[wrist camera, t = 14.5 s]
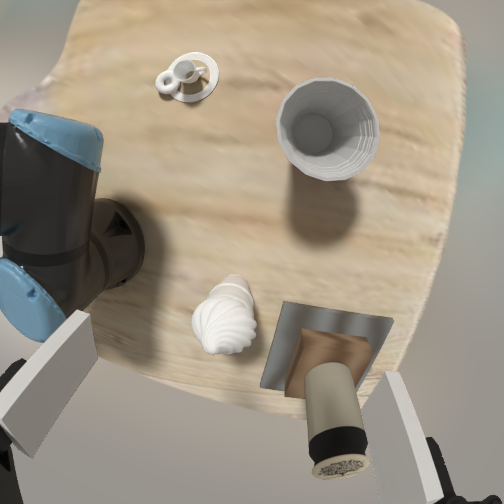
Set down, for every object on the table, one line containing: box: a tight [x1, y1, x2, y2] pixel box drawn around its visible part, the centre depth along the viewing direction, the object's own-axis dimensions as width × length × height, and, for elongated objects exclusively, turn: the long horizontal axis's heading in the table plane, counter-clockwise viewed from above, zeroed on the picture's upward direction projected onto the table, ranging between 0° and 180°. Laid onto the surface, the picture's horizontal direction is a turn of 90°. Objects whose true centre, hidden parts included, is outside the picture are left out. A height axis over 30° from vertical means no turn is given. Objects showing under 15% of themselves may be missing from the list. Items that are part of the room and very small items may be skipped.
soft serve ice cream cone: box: [191, 274, 257, 355], centre depth 38 cm, size 8×8×16 cm
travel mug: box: [304, 362, 370, 480], centre depth 35 cm, size 8×8×18 cm
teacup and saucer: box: [155, 52, 219, 102], centre depth 33 cm, size 9×8×4 cm
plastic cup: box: [276, 78, 380, 181], centre depth 31 cm, size 11×11×12 cm
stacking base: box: [260, 301, 394, 399], centre depth 47 cm, size 20×20×6 cm
